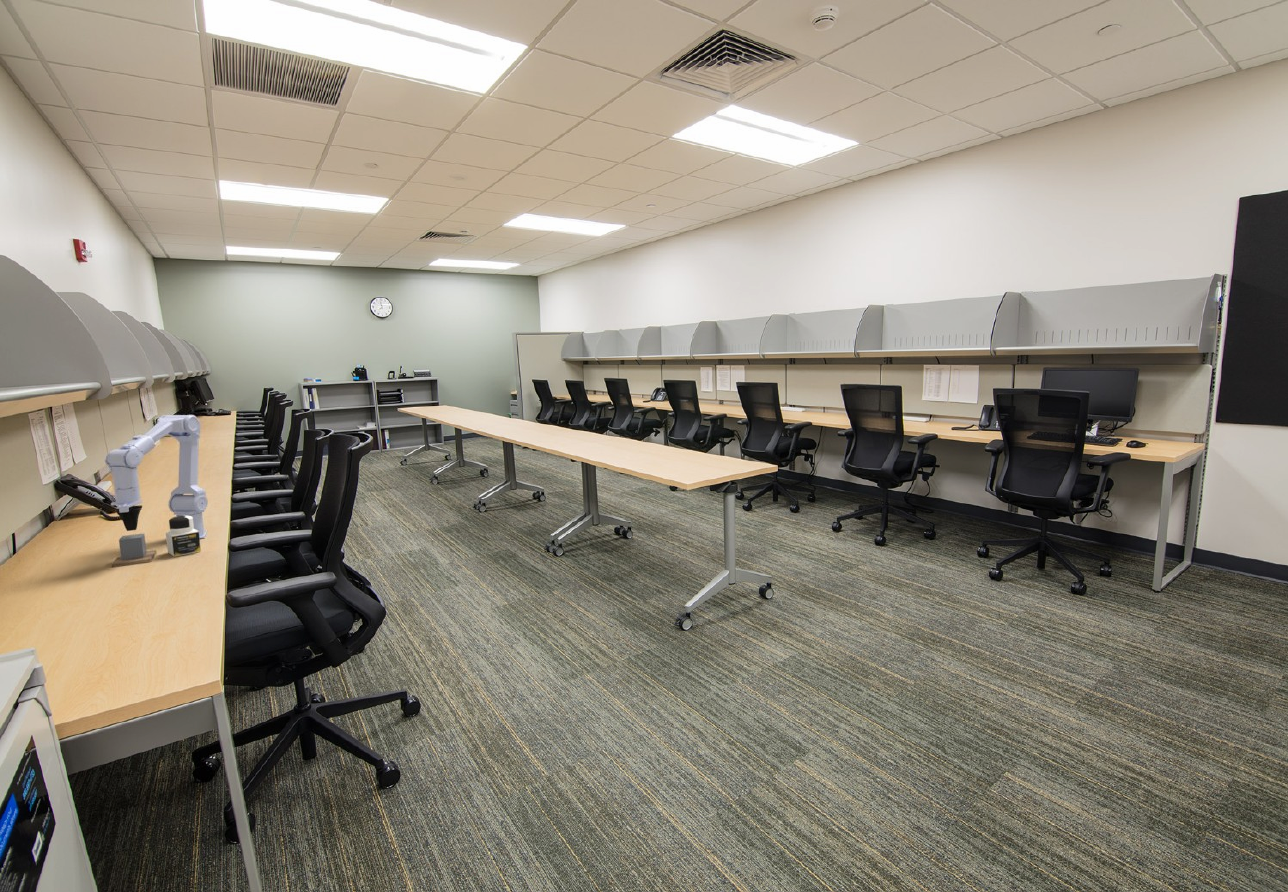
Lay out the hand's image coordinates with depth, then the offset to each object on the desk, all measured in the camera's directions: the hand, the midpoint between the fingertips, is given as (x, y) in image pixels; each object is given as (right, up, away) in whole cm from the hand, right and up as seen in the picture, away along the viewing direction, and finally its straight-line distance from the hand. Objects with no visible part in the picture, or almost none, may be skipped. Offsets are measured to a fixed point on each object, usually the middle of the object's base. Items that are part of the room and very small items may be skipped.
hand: (131, 530), depth 176 cm
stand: (0, -10, +1) cm, 10 cm away
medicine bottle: (+9, -9, +9) cm, 16 cm away
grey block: (0, -9, +1) cm, 9 cm away
